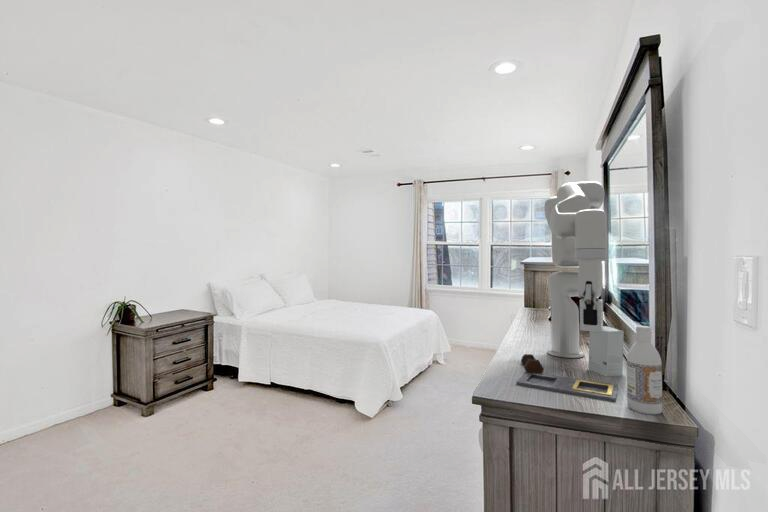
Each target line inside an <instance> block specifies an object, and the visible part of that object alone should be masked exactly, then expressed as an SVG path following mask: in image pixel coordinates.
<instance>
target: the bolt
mask: <svg viewBox="0 0 768 512" xmlns="http://www.w3.org/2000/svg"><path fill="white" fill-rule="evenodd" d="M520 361H521V362H520V363H522V364H523V365H524V366H523V369H524V370H525V373H526V372H527V371H528V372H534V373H541V374H543V372H544V367H543V365H542V363H541V362H540V360H539V359H536V358H535V357H534V355H533V354H529V353H527V354H523V355H522V357H521V360H520Z"/></svg>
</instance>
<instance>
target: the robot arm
mask: <svg viewBox="0 0 768 512" xmlns="http://www.w3.org/2000/svg"><path fill="white" fill-rule="evenodd" d="M605 194H606V193H605V188H604V186H603V184H602V183H600V182H598V181H595V180H594V181H593V180H591V181H578V182H577V181H576V182H574V181H573V182H572V181H571V182H567V183H564V184H563V185H561V186H560V187H558V189H557V191H556V196H553V197H550V198H549V197H548V199H546V200H545V202H544V207H543V209H544V215H545V218H546V219H545V220H546V222H547V224H548V227H549V230H550V234H551V236H550V237H551V261H552V264H553V265H554V266H556V268H566V269H568V268H573V269H574V268H578V270H577V271H575V270H562V271H559V270H557V271H554V272H552V273H550V275H549V276H548V279H547V283H548V290H549V295H550V296H549V297H550V316H551V317H550V318H551V319H550V320H551V322H550V323H551V329H550V330H551V347H549V348H548V349H547V351H546V353H547V354H549V355H550V356H554V357H558V358H564V359H565V358H566V359H577V358H578V359H579V358H582V357H584V356H585V352H584V351H582V350H580V308H579V306H578V305H577V303H576V302H575V301H574V300H573V299H572V298H573V297H578V298H579V299H584V309H583V323H584V324H585V325H597V310H596V299H599V297H601V296H602V288H603V286H602V285H603V284H602V283H603V264H602V262H606V261H608V255H607V254H608V250H607V249H608V248H607V245H608V244H607V243H608V242H607V241H608V240H607V239H608V238H607V227H608V222H607V213H606V212H605V211H604V210H603V209H600V208H601V207H602V205H603V202H604V201H605ZM571 297H572V298H571Z"/></svg>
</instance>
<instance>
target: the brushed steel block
mask: <svg viewBox="0 0 768 512" xmlns="http://www.w3.org/2000/svg"><path fill="white" fill-rule="evenodd" d="M603 303H604V300H603V299H599V298H598V299H596V310H597V325H585V324H584V323H583V309H584V298H580V299H579V331H583V332H590V331H594V332H602V330H603V326H604V304H603Z"/></svg>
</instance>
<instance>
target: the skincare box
mask: <svg viewBox="0 0 768 512" xmlns="http://www.w3.org/2000/svg"><path fill="white" fill-rule="evenodd" d="M624 334H625V333H624V330H620V329H617V328H615V327H609V326H606V325H603V330H602V332H594V331H589V337H588V338H589V342H588V343H589V344H588V364H587V365H588V367H587V368H588V369H587V371H588V372H595V373H597V374H599V375H602V376H604V377H619V376H620V377H621V376H623V370H624V369H623V367H624V366H623V361H624Z"/></svg>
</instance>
